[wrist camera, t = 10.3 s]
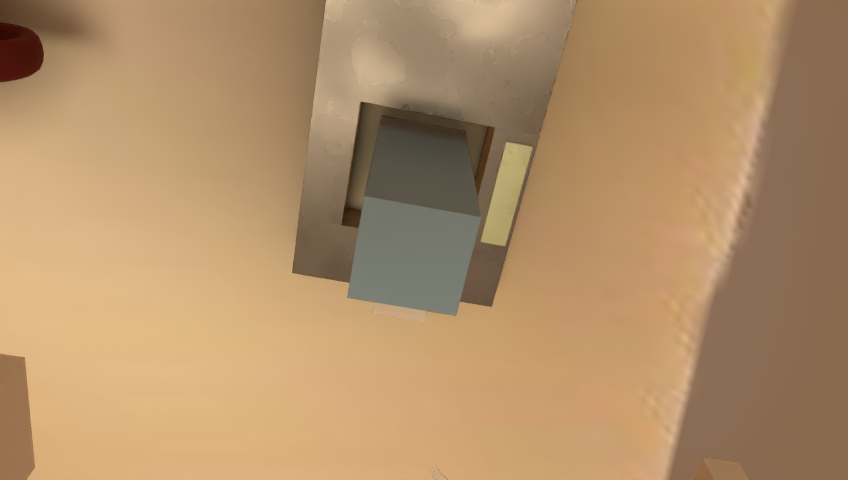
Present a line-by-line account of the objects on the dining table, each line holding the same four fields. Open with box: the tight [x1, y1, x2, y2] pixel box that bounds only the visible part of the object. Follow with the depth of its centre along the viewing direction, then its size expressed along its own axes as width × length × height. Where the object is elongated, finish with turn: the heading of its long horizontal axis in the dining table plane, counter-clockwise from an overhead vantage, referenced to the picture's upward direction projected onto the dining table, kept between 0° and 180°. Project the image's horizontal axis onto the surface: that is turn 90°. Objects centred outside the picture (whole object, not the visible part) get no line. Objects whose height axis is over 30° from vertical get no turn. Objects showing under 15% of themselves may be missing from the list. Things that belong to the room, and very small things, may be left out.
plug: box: [347, 116, 481, 322], centre depth 28 cm, size 5×4×10 cm
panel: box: [292, 0, 577, 307], centre depth 29 cm, size 24×10×2 cm, turn 169°
